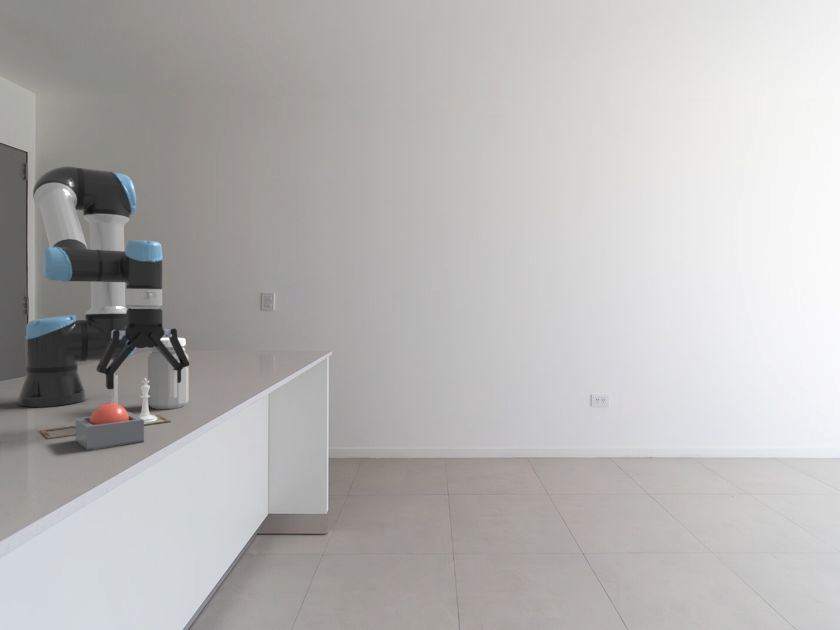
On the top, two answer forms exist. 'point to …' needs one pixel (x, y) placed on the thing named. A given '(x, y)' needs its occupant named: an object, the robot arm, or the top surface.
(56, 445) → the top surface
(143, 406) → the chess piece
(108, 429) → the housing
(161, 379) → the jar
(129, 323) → the robot arm
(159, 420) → the brown wooden flat frame
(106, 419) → the coral red ball
